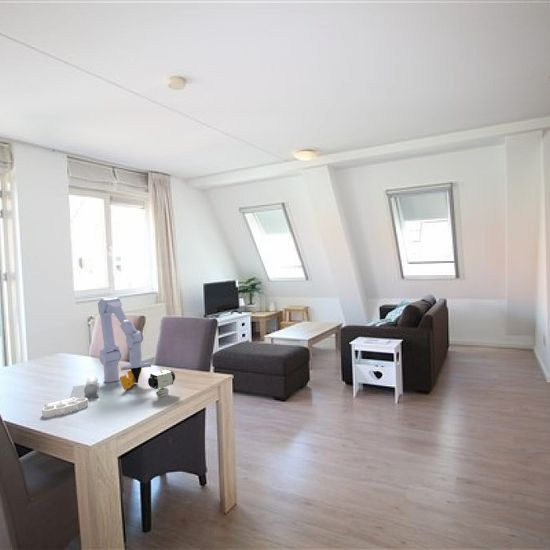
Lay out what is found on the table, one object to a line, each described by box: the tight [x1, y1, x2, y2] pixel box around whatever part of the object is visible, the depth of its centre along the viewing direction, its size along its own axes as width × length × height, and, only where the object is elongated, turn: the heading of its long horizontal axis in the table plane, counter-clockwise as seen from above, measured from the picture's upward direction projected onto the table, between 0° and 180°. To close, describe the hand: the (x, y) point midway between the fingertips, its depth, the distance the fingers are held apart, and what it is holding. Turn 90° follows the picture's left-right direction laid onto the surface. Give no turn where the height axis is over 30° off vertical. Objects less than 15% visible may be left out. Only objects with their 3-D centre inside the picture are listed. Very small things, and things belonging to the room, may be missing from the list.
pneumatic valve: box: [147, 369, 176, 398], centre depth 187 cm, size 6×12×12 cm, turn 138°
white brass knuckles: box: [41, 397, 89, 418], centre depth 175 cm, size 3×18×15 cm
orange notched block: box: [119, 369, 137, 391], centre depth 203 cm, size 12×4×6 cm, turn 178°
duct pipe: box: [69, 375, 100, 400], centre depth 196 cm, size 22×12×6 cm, turn 22°
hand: (136, 382), depth 205 cm, fingers closed
